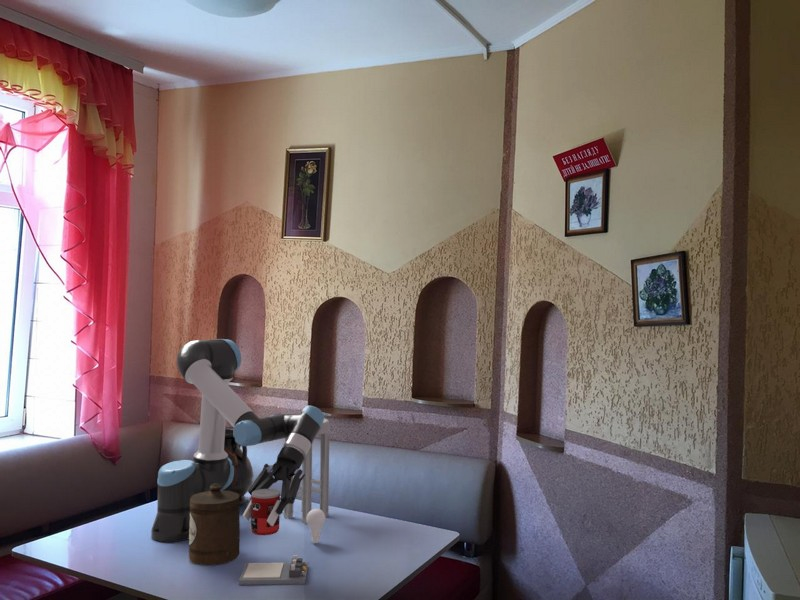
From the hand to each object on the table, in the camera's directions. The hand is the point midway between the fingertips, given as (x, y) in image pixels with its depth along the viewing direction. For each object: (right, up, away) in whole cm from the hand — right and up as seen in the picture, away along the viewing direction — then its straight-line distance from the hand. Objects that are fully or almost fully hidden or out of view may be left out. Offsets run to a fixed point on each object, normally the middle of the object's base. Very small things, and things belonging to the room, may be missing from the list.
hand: (257, 520), depth 183 cm
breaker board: (+4, -16, +3) cm, 17 cm away
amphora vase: (-28, -17, +69) cm, 76 cm away
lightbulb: (+13, -17, +28) cm, 35 cm away
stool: (+6, -17, +55) cm, 58 cm away
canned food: (+2, -4, +3) cm, 5 cm away
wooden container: (-17, -17, +16) cm, 29 cm away
